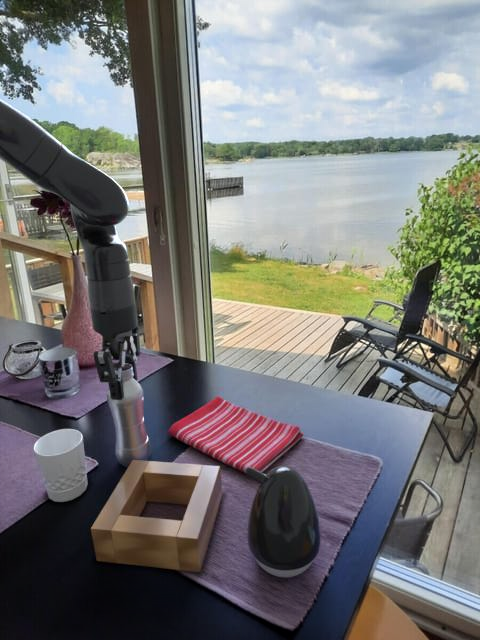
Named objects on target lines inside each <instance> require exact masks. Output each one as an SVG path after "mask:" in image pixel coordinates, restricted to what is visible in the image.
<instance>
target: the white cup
mask: <svg viewBox="0 0 480 640" xmlns="http://www.w3.org/2000/svg"><path fill="white" fill-rule="evenodd" d="M33 452H34V456H35V460H36V463H37V466H38V469H39V473H40V476H41V479H42V483H43V485H44V487H45V489H46V493H47V496H48V499H49V500H51V501H52V502H55V503H64V502H69V501H70V502H71V501H73V500H74V499H77V498H78V497H81V496H82V494H83V493H84V492H85V491H86V490H87V488H88V484H89V482H88V474H87V461H86V452H85V444H84V436H83V434H82V432H81V431H79V430H78V429H74V428H61V429H57V430H54V431H51V432H48V433H46V434H44V435H43V436H41V437H40V438H38V439H37V440H36V441H35V443H34V444H33Z"/></svg>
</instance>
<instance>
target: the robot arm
mask: <svg viewBox="0 0 480 640" xmlns="http://www.w3.org/2000/svg"><path fill="white" fill-rule="evenodd" d="M0 160H1V161H2V162H3V163H5V164H6V165H8V166H9V167H11V168H12V169H13V170H14V171H16V172H17V173H19V174H20V175H21V176H23V177H25V178H26V180H29V181H30V182H32V183H33V184H34V185H36V186H37V187H39V188H40V189H43V190H45V191H46V192H49V193H53V194H55V195H57V197H60V198H61V199H62V200H64V201H65V202H67V203H68V204H70V205H69V206H70V213H71V218H72V222H73V225H74V227H75V231H76V234H77V238H78V240H79V244H80V245H81V248H82V251H83V259H84V265H85V266H84V267H85V273H86V281H87V298H88V303H89V309H90V310H89V311H90V316H91V322H92V328H93V329H92V330H93V331H94V332H95V333H97V334H99V335H100V336H101V337H102V341H101V342H102V343H101V349H100V350H99V351H98V350H95V351H94V352H93V359H94V364H95V367H96V371H97V375H98V379H99V382H100V383H108V390H110V397H111V399H112V400H122V399H123V397H124V393H123V385H122V379H121V372H122V368H123V367H124V366H125V364H131V365H132V367H133V372H134V376H133V378H134V379H135V380H136V381H137V382H138V380H139V379H138V371H137V363H138V357H140V356H141V344H140V343H141V342H140V326H139V325H138V324H139V319H138V311H137V304H136V295H135V288H134V284H133V279H132V274H131V266H130V259H129V251H128V247H127V245H126V243H125V242H124V241H123V240H121V238H120V237H119V235H118V231H117V227H116V225H119V224H120V223H122V222H123V221H124V220H125V219H126V217H127V215H128V213H129V211H130V210H129V209H130V201H129V197H128V195H127V192H125V190H124V189H123V187H122V186H121V185H120V184H119V183H118V182H117V181H116V180H114V179H113V178H112V177H111V176H109V175H108V174H106V173H105V172H104V171H102V170H101V169H99V168H97V167H96V166H94V165H92V164H91V163H89V162H87V161H86V160H85V159H83V158H81V157H79V156H78V155H76V154H74V153H73V152H72V151H71V150H69V149H68V148H67V147H66V146H65V145H64V144H63V143H62V142H60V141H59V140H58V139H57V138H55V137H54V136H53V135H52V134H50V133H49V132H48V131H47V130H46V129H44V127H42V126H41V125H40V124H38V123H37V122H36V121H34V119H32V118H30V117H29V116H27V115H26V114H25V113H23V112H22V111H20V110H19V109H17V108H15V107H14V106H13V105H11V104H9V103H7V102H6V101H4V100H3V99H1V98H0ZM113 361H118V362H113ZM114 367H116V374H115V370H114Z"/></svg>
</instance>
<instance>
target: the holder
mask: <svg viewBox="0 0 480 640" xmlns="http://www.w3.org/2000/svg"><path fill="white" fill-rule="evenodd" d="M221 471H222V470H221V466H220V465H210V464H209V465H208V464H199V463H198V464H197V463H182V462H169V461H155V460H154V461H153V460H147V461H143V460H133V461H132V462H131V464H130V465H129V467H127V469H126V470H125V472H124V474H123V475H122V477H121V478H120V480H119V481H118V483H117V485H116V487H115V488H114V490H113V491H112V493H111V495H110V496H109V498H108V500H107V501H106V503H105V504H104V506H103V508H102V510H101V511H100V513H99V514H98V516H97V517H96V519H95V521H94V523H93V524H92V526H91V527H90V531H91V537H92V542H93V548H94V552H95V558H96V561H97V562H102V563H113V564H123V565H130V566H141V567H149V568H157V569H168V570H177V571H184V572H185V571H186V572H193V573H201V571H202V568H203V565H204V562H205V561H204V560H205V557H206V554H207V550H208V546H209V543H210V540H211V539H210V538H211V536H212V533H213V529H214V526H215V521H216V517H217V515H218V511H219V507H220V504H221V500H222V497H223V489H222V473H221ZM147 502H151V503H164V504H173V505H184V506H185V505H186V506H187V507H186V510H185V511H184V512H185V513H184V515H183V517H182V520H178V519H167V518H157V517H147V516H141V514H142V512H143V510H144V508H145V506H146V505H147Z"/></svg>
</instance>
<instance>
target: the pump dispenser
mask: <svg viewBox="0 0 480 640" xmlns="http://www.w3.org/2000/svg"><path fill="white" fill-rule="evenodd" d="M245 474H246V475H247V476H248V477H250V478H251V479H253V480H254V481H256V482H257V483H258V484H259V485H258V488H257V489H256V492H255V493H254V497H253V499H252V503H251V506H250V510H249V515H248V523H247V534H246V535H247V539H246V540H247V546H248V549H249V551H250V553H251V554H252V556H253V558H254V559H255V561H256V563H257V564H258V565H259V566H260V567H261V569H263V571H265V572H267V573H268V574H270V575H272V576H275V577H278V578H292V577H293V578H294V577H296V576H299V575H301V574H302V573H304V572H305V571H306V570H307V569H309V567H310V566H311V565H312V564H313V562H314V560H315V558H316V557H317V556H318V554H319V551H320V549H321V541H322V538H321V526H320V520H319V514H318V510H317V507H316V503H315V501H314V498H313V495H312V493H311V490H310V488H309V486H308V484H307V481H305V479H304V478H303V476H302V475H301V474H300V473H299V471H297V470H296V469H294V468H293V467H290V466H287V465H280V466H276V467H274V468H272V469H271V470H269V471H268V472H267V473H264V472H260V471H258V470H256V469H254V468H252V467H248V468H247V470H246V473H245Z"/></svg>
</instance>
